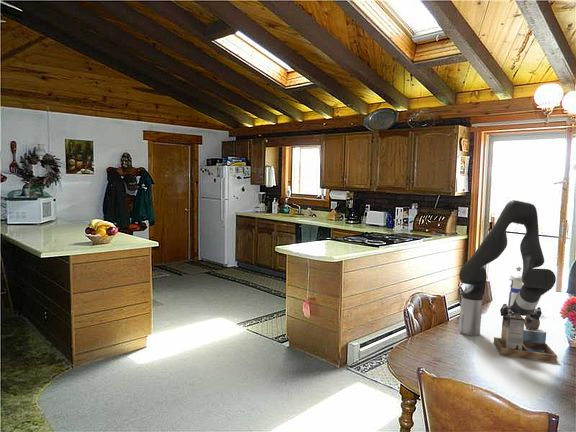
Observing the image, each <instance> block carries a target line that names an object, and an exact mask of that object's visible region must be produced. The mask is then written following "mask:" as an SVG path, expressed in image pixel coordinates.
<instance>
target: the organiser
mask: <svg viewBox="0 0 576 432" xmlns="http://www.w3.org/2000/svg"><path fill="white" fill-rule="evenodd" d="M546 341H547V332H546V331H545V332H544V331H540V330H539V331H538V330H530V329H524V332H523V343H522V350H515V349H507V348H503V347H502V345H501V337H497V336H494V337H493V346H494V347H495V348H496V350H497V352H498V353H499V355H500V356H501V357H502V356H503V357H508V358H509V357H510V358H518V359H526V360H532V361H541V362H547V363H555V364H557V362H558V361H557V360H558V354H557V353H556V352H554V350H553V349H552V348H551V347H550V346H549V345H548V344H547V343H546Z"/></svg>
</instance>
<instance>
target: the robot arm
mask: <svg viewBox="0 0 576 432" xmlns="http://www.w3.org/2000/svg"><path fill="white" fill-rule="evenodd" d="M501 211H502V212H500V215H499V216H498V218H497V220H496V221H495V223H494V225H493V226H492V228H491V229H490V231H489V233H488V234H487V235H486V236H485V237H484V239H483V240H482V242H480V245H479V246H478V247H477V249H476V250H475V251H474V253H473V255H472V256H471V257H470V258H469V259H468V260H467V261H465V263H464V264H463V265H462V267H460V271H459V273H458V276H459V281H460V282H461V283H462V284H465V285H470V286H469V287H468V288H466V289H464V290H462V293H461V303H460V310H459V319H458V320H459V322H458V331H459V333H460V334H463V335H466V336H471V337H474V336H475V337H476V336H479V335H481V326H482V325H481V323H482V312H483V310H482V309H483V300H484V296H485V292H486V284H487V271H486V269H485V266H486V265H488V264H490V263H491V262H493V261H495V260H497V259H498V258H499V257H500V256H501V255H502V253H503V252H504V251H505V250H506V248H507V246H508V237H507V229H508V228H509V226H510V225H511V224H512V223H513V224H518V225H523V226H524V228H525V234H524V235H523V238H522V239H521V241H520V245H519V248H520V249H519V250H520V254H521V259H522V273H521V276H522V282H523V286H522V288H521V290H520V291H519V293H518V294H517V296H516V298H515V300H514V303H513V305H511V306H508V303H503V305H501V308H500V310H499V311H500V317H502V320H503V319H504V320H505V321H507V319H508V317H509V316H515V315H521V316H522V317H527V319H526V320H527V323H531V322H532V320H534V319H536V320H540V317H541V315H542V308H541V307H539V306H538V307H537V305H538V304H539V301H540V299H541V297H542V296H543V295H544V294H547V292H550V290H551V289H553V288H554V286H555V284H556V282H557V281H556V280H557V278H556V274H555V272H554V271H553V270H551V269H549V268H539V267H541V266H543V265H544V264H545V257H544V253H543V250H542V246H541V244H540V243H541V242H540V237H539V236H540V234H539V233H540V232H539V231H540V230H539V218H538V211H537V207H536V206H535V205H534V204H533V203H530V202H525V201H521V200H520V201H519V200H514V199H512V200H510V201H509V202H507V203H506V204H505V206H504V208H503V209H502V210H501ZM508 312H509V314H508ZM534 312H535V314H532V313H534Z"/></svg>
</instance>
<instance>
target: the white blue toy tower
mask: <svg viewBox="0 0 576 432" xmlns="http://www.w3.org/2000/svg"><path fill="white" fill-rule="evenodd" d="M515 269H516V272H521V270H523V267H520V266H518V267H515ZM508 280H509V281H511V284H510V285H509V287H510V290H509V295H508V302H507V306H511V305H513V303H514V300H515V298H516V296H517V294H518V293H519V291H520V290H521V288H522V286H523V282H522V275H518V276H517V277H515V276H513V275H509V279H508Z"/></svg>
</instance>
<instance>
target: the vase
mask: <svg viewBox="0 0 576 432" xmlns="http://www.w3.org/2000/svg"><path fill="white" fill-rule="evenodd" d="M532 314H535V312H534V313H532ZM524 319H525V322H524V327H525V328H526V330H530V331H537V330H539V327H540V325H541V320H540V319H539V320H536V319H534V320H532V322H531V323H527V320H526V319H527V317H526V316H524Z"/></svg>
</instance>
